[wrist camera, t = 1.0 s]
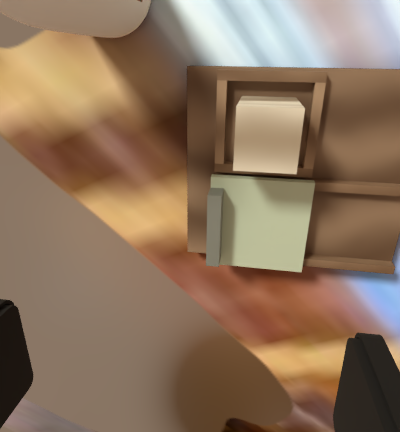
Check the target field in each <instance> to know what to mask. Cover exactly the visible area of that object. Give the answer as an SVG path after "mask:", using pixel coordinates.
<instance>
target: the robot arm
mask: <svg viewBox="0 0 400 432" xmlns="http://www.w3.org/2000/svg"><path fill="white" fill-rule="evenodd" d="M32 381H33V371H32V367H31V362H30V358H29V354H28V350H27V345H26V341H25V336H24V332H23V328H22V323H21V319H20V315H19V310H18V308H17V307H16V306H14V303H13V302H12V301H10V300H3V299H0V428H1V427H2V425H3V424H4V423H5V421H6V420H7V419H8V417H9V416H10V414H11V413H12V412H13V410H14V409H15V407H16V406H17V405H18V403H19V402H20V401H21V399H22V398H23V396H24V395H25V394H26V392H27V391H28V389H29V388H30V386H31V384H32ZM333 421H334V428H335V432H400V372H399V370H398V367H397V365H396V363H395V361H394V359H393V357H392V355H391V353H390V351H389V349H388V347H387V345H386V343H385V341H384V339H383V337H382V336H381V335H375V334H365V333H357V334H356V335H355V338H349V339H348V341H347V345H346V350H345V355H344V361H343V366H342V371H341V376H340V381H339V387H338V392H337V397H336V402H335V407H334V414H333Z"/></svg>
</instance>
